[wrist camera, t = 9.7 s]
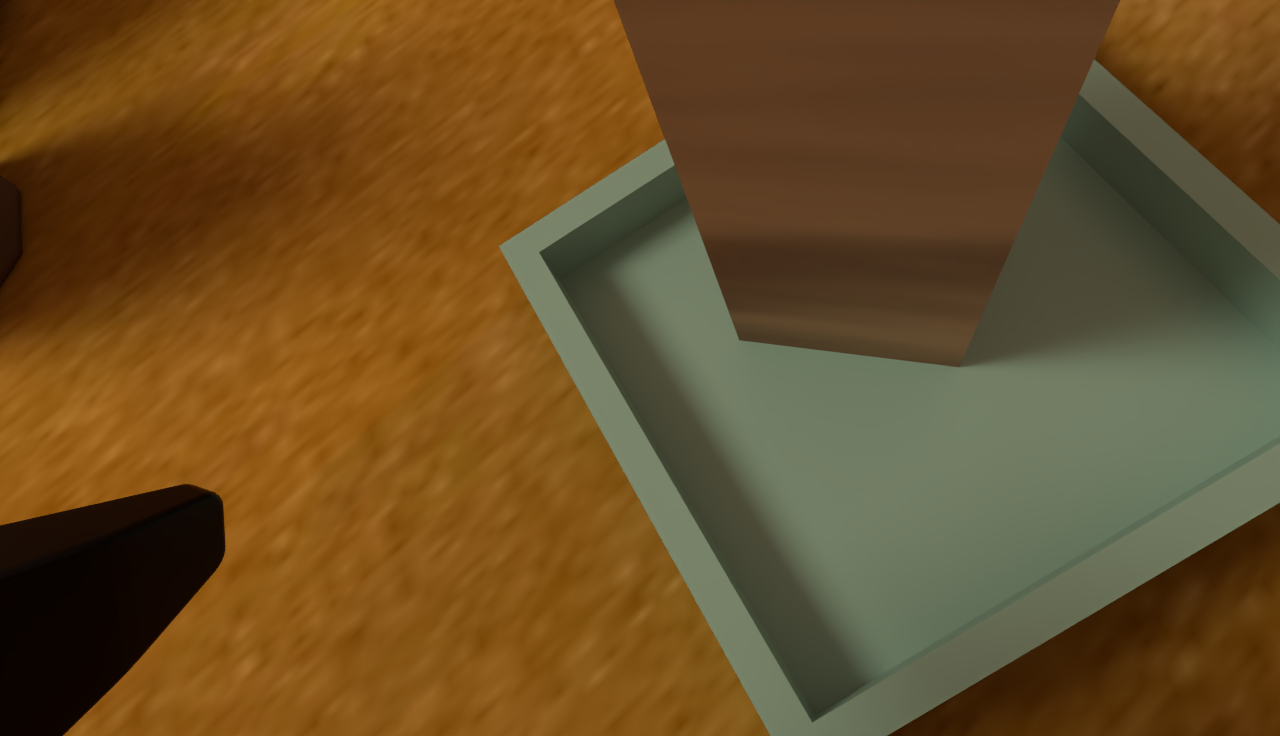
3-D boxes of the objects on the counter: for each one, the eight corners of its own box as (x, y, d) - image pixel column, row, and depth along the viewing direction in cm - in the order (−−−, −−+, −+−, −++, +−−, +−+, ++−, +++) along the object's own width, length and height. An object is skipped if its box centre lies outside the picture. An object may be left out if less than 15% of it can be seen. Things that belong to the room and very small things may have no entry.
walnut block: (958, 367, 17) (1162, -98, 6) (739, 340, 19) (586, -74, 8) (980, 171, 18) (1182, -502, 7) (773, 161, 20) (686, -414, 9)
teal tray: (1385, 422, 15) (1468, 391, 13) (805, 767, 16) (799, 788, 14) (954, 11, 21) (966, -55, 19) (531, 282, 21) (498, 246, 19)
